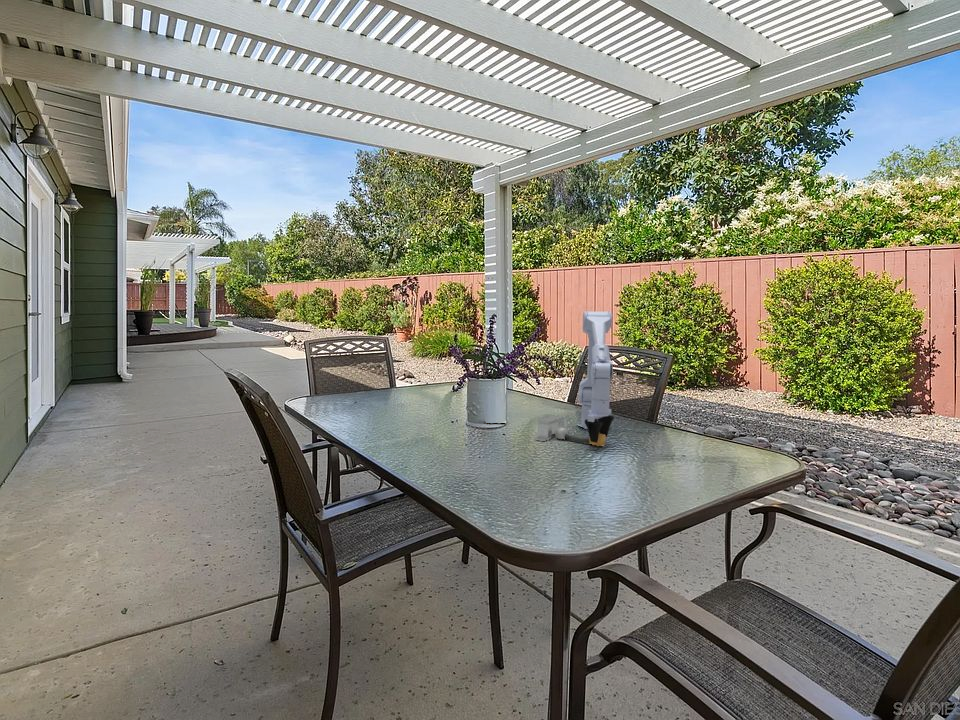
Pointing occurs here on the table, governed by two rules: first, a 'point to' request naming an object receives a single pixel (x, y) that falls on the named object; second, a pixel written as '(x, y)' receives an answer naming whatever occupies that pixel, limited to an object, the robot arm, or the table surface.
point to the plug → (564, 434)
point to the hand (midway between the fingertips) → (598, 439)
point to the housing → (549, 427)
